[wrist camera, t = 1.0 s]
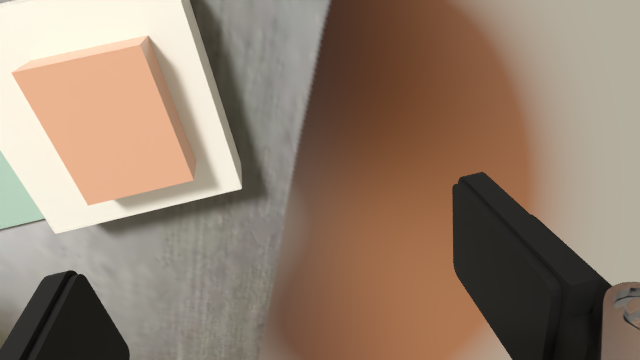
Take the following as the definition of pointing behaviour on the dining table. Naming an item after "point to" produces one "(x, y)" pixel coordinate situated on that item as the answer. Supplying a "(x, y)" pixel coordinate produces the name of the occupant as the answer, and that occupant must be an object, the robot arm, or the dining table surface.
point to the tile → (110, 118)
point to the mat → (15, 199)
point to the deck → (94, 30)
